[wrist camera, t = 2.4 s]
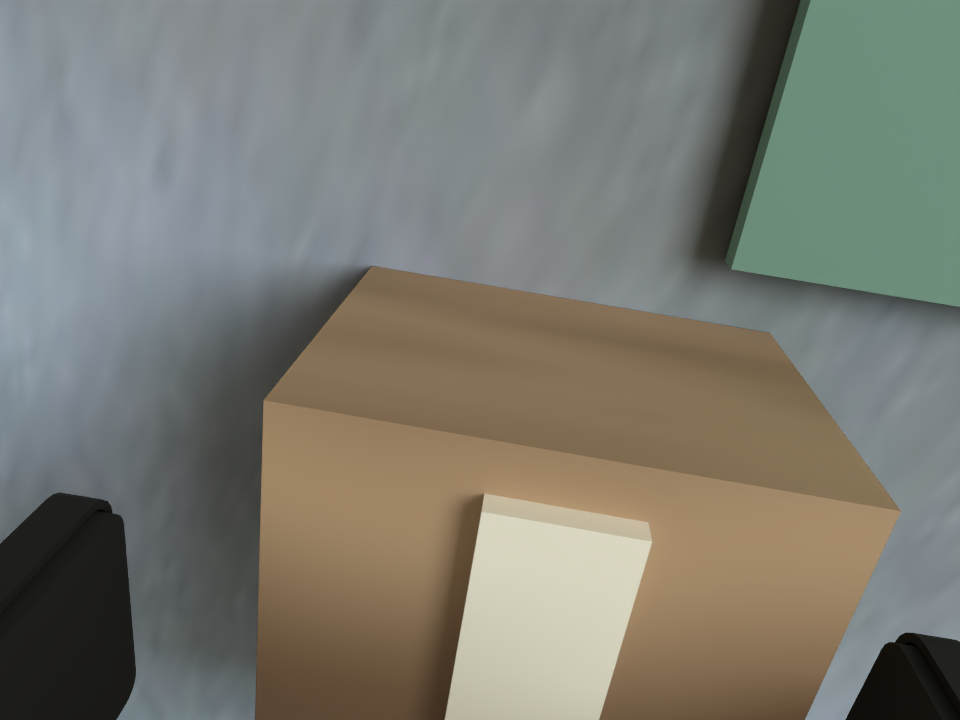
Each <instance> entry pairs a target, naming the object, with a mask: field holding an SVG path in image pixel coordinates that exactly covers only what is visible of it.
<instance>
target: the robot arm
mask: <svg viewBox="0 0 960 720" xmlns="http://www.w3.org/2000/svg"><path fill="white" fill-rule="evenodd" d="M135 676H136V666H135V653H134V641H133V629H132V617H131V605H130V592H129V580H128V568H127V556H126V544H125V532H124V523H123V519H122V517H121V516H120V515H117V514H113V513H112V509H111V506H110V504H109V503H108V501H105V500H101V499H95V498H89V497H83V496H77V495H71V494H65V493H57V494H53V495H52V496H50V497H49V498H48V499H46V500H45V501H44V502H43V503H42V504H41V505H40V506H39V507H38V508H37V509H36V510H35V511H34V512H33V513H32V514H31V515H30V516H29V517H28V518H27V519H26V520H25V521H24V522H22V523H21V524H20V525H19V526H18V527H17V528H16V529H15V530H14V531H13V532H12V533H11V534H10V535H9V536H8V537H7V538H6V539H5V540H4V541H3V542H2V543H1V544H0V720H116V719H117V718H118V716H119V714H120V713H121V711H122V709H123V708H124V706H125V705H126V703H127V701H128V699H129V697H130V694H131V692H132V689H133V685H134V682H135ZM846 720H960V642H959V641H957V640H953V639H947V638H940V637H934V636H928V635H922V634H916V633H904V634H902V635H901V636H899V638H898V639H897V640H896V642H895V643H894V642H889V643H887V644H885V645H884V647H883V648H882V650H881V651H880V653H879V655H878V657H877V659H876V661H875V663H874V665H873V667H872V669H871V671H870V673H869V675H868V677H867V679H866V681H865V683H864V685H863V687H862V689H861V691H860V692H859V694H858V696H857V698H856V700H855V702H854V704H853V706H852V708H851V710H850V712H849V714H848V716H847V718H846Z"/></svg>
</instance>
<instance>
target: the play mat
mask: <svg viewBox="0 0 960 720" xmlns="http://www.w3.org/2000/svg"><path fill="white" fill-rule="evenodd" d="M725 262H726V263H727V265H728V266H729V267H730V268H731V269H732V270H738V271H744V272H750V273H756V274H763V275H769V276H775V277H781V278H787V279H793V280H799V281H805V282H811V283H817V284H823V285H829V286H836V287H842V288H848V289H854V290H860V291H866V292H872V293H878V294H884V295H890V296H896V297H903V298H909V299H915V300H921V301H927V302H933V303H939V304H945V305H951V306H957V307H960V0H801V1H800V4H799V8H798V11H797V14H796V18H795V21H794V25H793V28H792V32H791V35H790V39H789V42H788V46H787V49H786V52H785V56H784V59H783V63H782V66H781V70H780V73H779V77H778V80H777V83H776V87H775V90H774V94H773V97H772V101H771V104H770V108H769V111H768V114H767V118H766V121H765V125H764V128H763V132H762V135H761V139H760V142H759V145H758V149H757V152H756V156H755V159H754V163H753V166H752V170H751V173H750V176H749V180H748V183H747V187H746V190H745V194H744V197H743V201H742V204H741V207H740V211H739V214H738V218H737V221H736V225H735V228H734V232H733V235H732V238H731V242H730V245H729V249H728V252H727V256H726V259H725Z"/></svg>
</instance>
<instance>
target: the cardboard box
mask: <svg viewBox="0 0 960 720" xmlns="http://www.w3.org/2000/svg"><path fill="white" fill-rule="evenodd" d="M900 512H901V511H900V509H899V508H898V507H897V505H896V504H895V502H894V501H893V500H892V498H891V497H890V496H889V494H888V493H887V492H886V490H885V489H884V487H883V486H882V485H881V483H880V482H879V481H878V479H877V478H876V477H875V475H874V474H873V473H872V471H871V470H870V468H869V467H868V466H867V464H866V463H865V462H864V460H863V459H862V458H861V456H860V455H859V453H858V452H857V451H856V449H855V448H854V447H853V445H852V444H851V443H850V441H849V440H848V439H847V437H846V436H845V434H844V433H843V432H842V430H841V429H840V428H839V426H838V425H837V424H836V422H835V421H834V419H833V418H832V417H831V415H830V414H829V413H828V411H827V410H826V409H825V407H824V406H823V405H822V403H821V402H820V400H819V399H818V398H817V396H816V395H815V394H814V392H813V391H812V390H811V388H810V387H809V385H808V384H807V383H806V381H805V380H804V379H803V377H802V376H801V375H800V373H799V372H798V371H797V369H796V368H795V366H794V365H793V364H792V362H791V361H790V360H789V358H788V357H787V356H786V354H785V353H784V351H783V350H782V349H781V347H780V346H779V345H778V343H777V342H776V341H775V339H774V338H773V337H772V335H771V334H770V333H767V332H761V331H755V330H749V329H743V328H737V327H732V326H726V325H720V324H714V323H708V322H702V321H696V320H690V319H684V318H678V317H672V316H666V315H660V314H654V313H648V312H643V311H637V310H631V309H625V308H619V307H613V306H607V305H601V304H595V303H589V302H583V301H577V300H571V299H565V298H559V297H553V296H548V295H542V294H536V293H530V292H524V291H518V290H512V289H506V288H500V287H494V286H488V285H482V284H476V283H470V282H464V281H459V280H453V279H447V278H441V277H435V276H429V275H423V274H417V273H411V272H405V271H399V270H393V269H387V268H381V267H375V266H372V267H371V268H370V269H369V270H368V272H367V273H366V274H365V275H364V276H363V278H362V279H361V280H360V281H359V283H358V284H357V285H356V286H355V288H354V289H353V290H352V291H351V293H350V294H349V295H348V296H347V298H346V299H345V300H344V301H343V302H342V304H341V305H340V306H339V307H338V309H337V310H336V311H335V312H334V314H333V315H332V316H331V317H330V319H329V320H328V321H327V322H326V324H325V325H324V326H323V327H322V328H321V330H320V331H319V332H318V333H317V335H316V336H315V337H314V338H313V340H312V341H311V342H310V343H309V345H308V346H307V347H306V348H305V350H304V351H303V352H302V353H301V354H300V356H299V357H298V358H297V359H296V361H295V362H294V363H293V364H292V366H291V367H290V368H289V369H288V371H287V372H286V373H285V374H284V376H283V377H282V378H281V379H280V380H279V382H278V383H277V384H276V385H275V387H274V388H273V389H272V390H271V392H270V393H269V394H268V395H267V397H266V398H265V399H264V401H263V440H262V478H261V516H260V554H259V592H258V630H257V668H256V707H255V720H805V718H806V716H807V714H808V711H809V709H810V707H811V705H812V703H813V701H814V698H815V696H816V694H817V692H818V690H819V688H820V685H821V683H822V681H823V679H824V677H825V675H826V672H827V670H828V668H829V666H830V664H831V662H832V659H833V657H834V655H835V653H836V651H837V649H838V646H839V644H840V642H841V640H842V638H843V636H844V633H845V631H846V629H847V627H848V625H849V623H850V620H851V618H852V616H853V614H854V612H855V610H856V607H857V605H858V603H859V601H860V599H861V597H862V595H863V592H864V590H865V588H866V586H867V584H868V582H869V579H870V577H871V575H872V573H873V571H874V569H875V566H876V564H877V562H878V560H879V558H880V556H881V553H882V551H883V549H884V547H885V545H886V543H887V540H888V538H889V536H890V534H891V532H892V530H893V527H894V525H895V523H896V521H897V519H898V517H899V514H900Z"/></svg>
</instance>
